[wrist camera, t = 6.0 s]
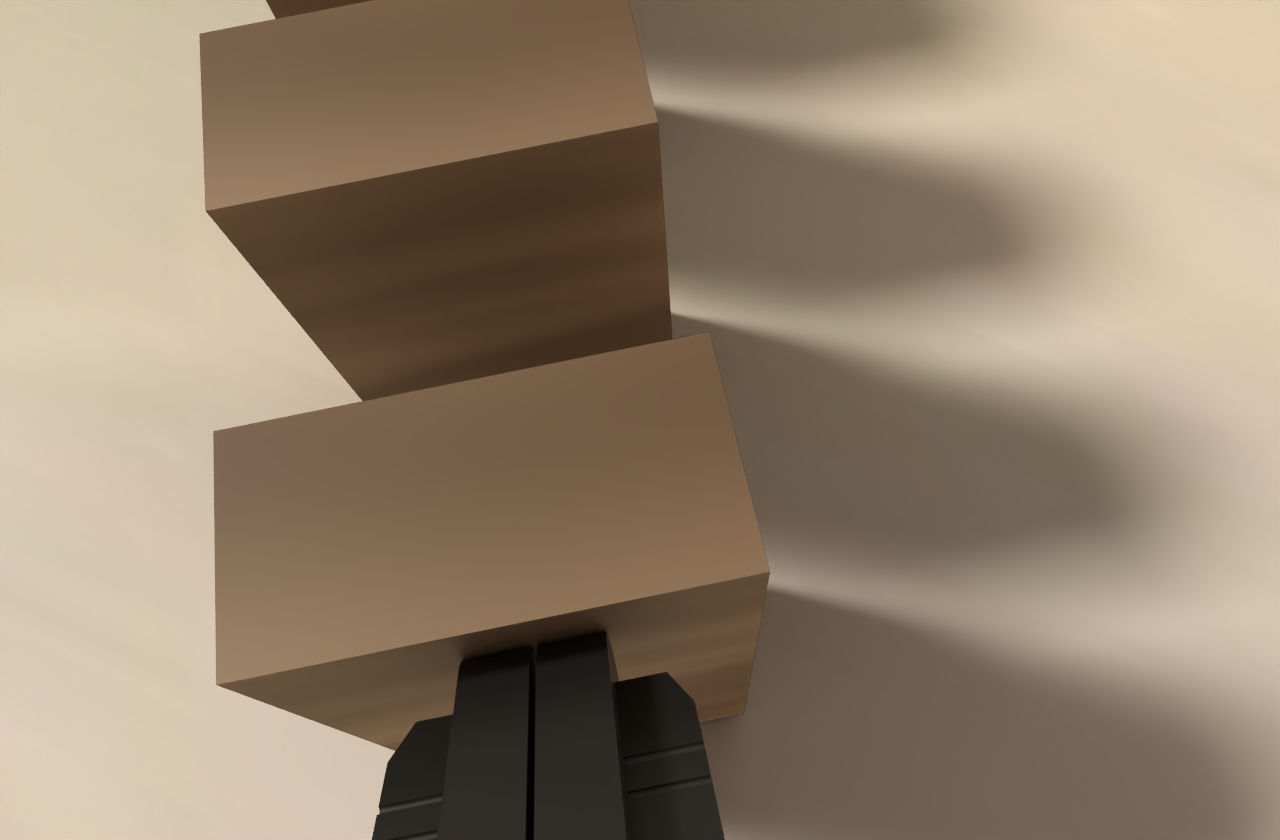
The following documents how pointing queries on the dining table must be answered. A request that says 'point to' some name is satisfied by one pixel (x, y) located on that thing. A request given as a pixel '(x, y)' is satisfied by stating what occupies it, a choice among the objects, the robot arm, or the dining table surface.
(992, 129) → the dining table surface
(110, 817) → the dining table surface
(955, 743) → the dining table surface
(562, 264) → the domino
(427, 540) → the domino
